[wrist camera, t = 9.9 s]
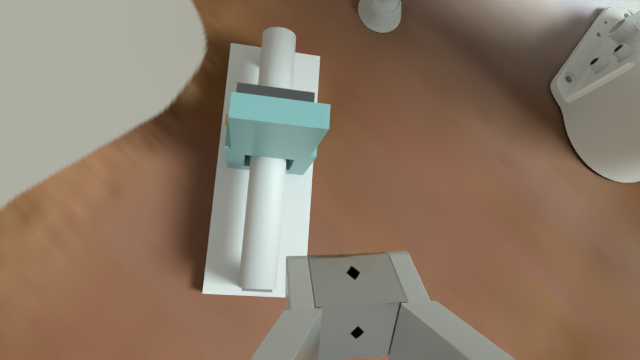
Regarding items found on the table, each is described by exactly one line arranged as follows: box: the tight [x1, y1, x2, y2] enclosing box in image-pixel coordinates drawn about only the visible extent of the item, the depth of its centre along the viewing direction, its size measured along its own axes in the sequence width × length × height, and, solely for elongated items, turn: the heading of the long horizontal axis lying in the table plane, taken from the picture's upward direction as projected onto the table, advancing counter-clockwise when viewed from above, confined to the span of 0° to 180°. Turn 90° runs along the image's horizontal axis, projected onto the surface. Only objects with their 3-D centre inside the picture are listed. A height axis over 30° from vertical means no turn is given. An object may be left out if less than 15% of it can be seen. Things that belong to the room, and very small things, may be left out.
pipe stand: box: [202, 27, 320, 297], centre depth 36 cm, size 24×9×7 cm, turn 176°
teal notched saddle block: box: [224, 92, 330, 175], centre depth 31 cm, size 4×7×14 cm, turn 86°
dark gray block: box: [236, 82, 315, 102], centre depth 35 cm, size 2×6×6 cm, turn 86°
